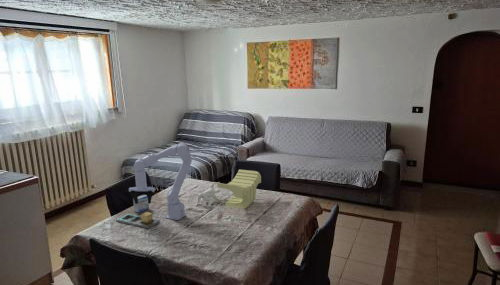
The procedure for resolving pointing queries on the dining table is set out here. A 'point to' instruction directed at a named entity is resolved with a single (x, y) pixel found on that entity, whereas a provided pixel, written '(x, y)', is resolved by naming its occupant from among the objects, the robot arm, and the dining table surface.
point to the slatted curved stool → (242, 188)
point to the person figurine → (209, 195)
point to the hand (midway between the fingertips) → (143, 203)
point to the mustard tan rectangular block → (147, 218)
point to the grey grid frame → (135, 217)
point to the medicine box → (141, 203)
